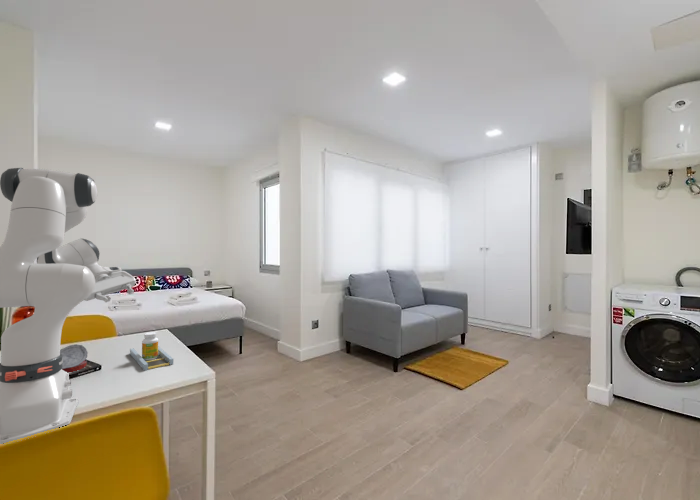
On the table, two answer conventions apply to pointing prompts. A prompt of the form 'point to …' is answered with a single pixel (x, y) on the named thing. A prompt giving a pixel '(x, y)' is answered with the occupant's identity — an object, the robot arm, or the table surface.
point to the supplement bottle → (150, 346)
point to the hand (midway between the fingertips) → (120, 296)
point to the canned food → (74, 358)
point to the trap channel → (152, 364)
